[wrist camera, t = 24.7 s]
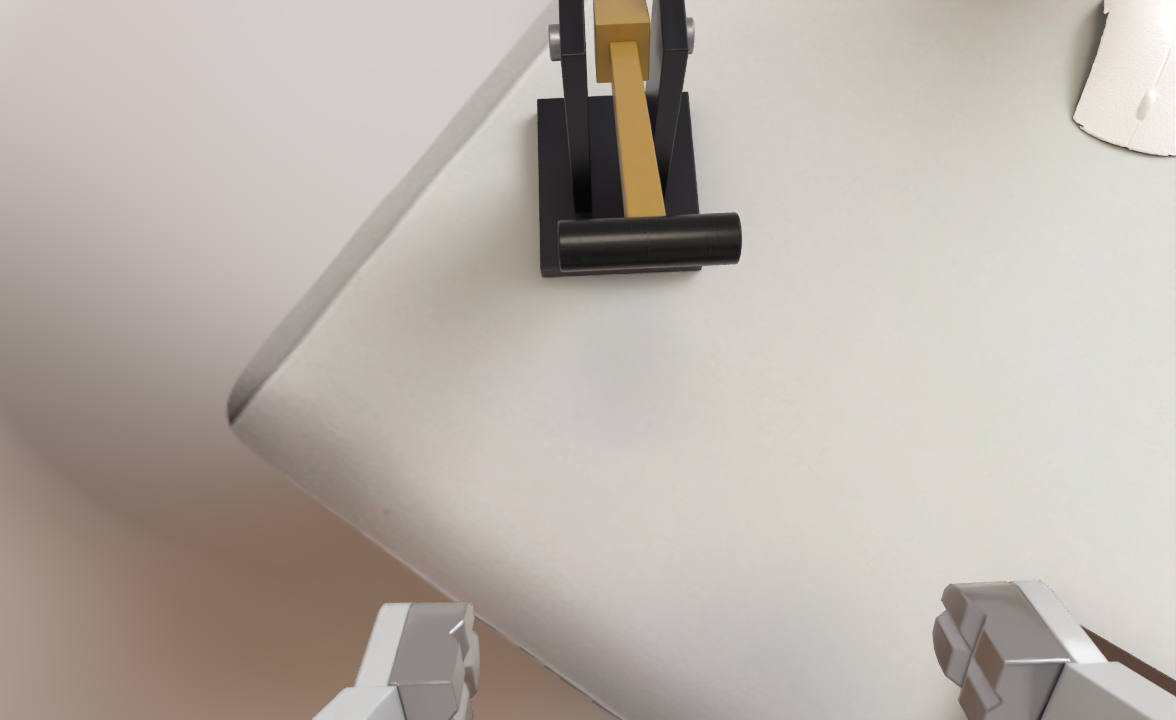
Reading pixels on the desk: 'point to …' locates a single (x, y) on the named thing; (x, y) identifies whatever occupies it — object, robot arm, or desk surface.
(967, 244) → the desk surface
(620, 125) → the bolt lever
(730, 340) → the desk surface
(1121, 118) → the computer mouse
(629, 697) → the desk surface
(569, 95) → the bolt bracket
